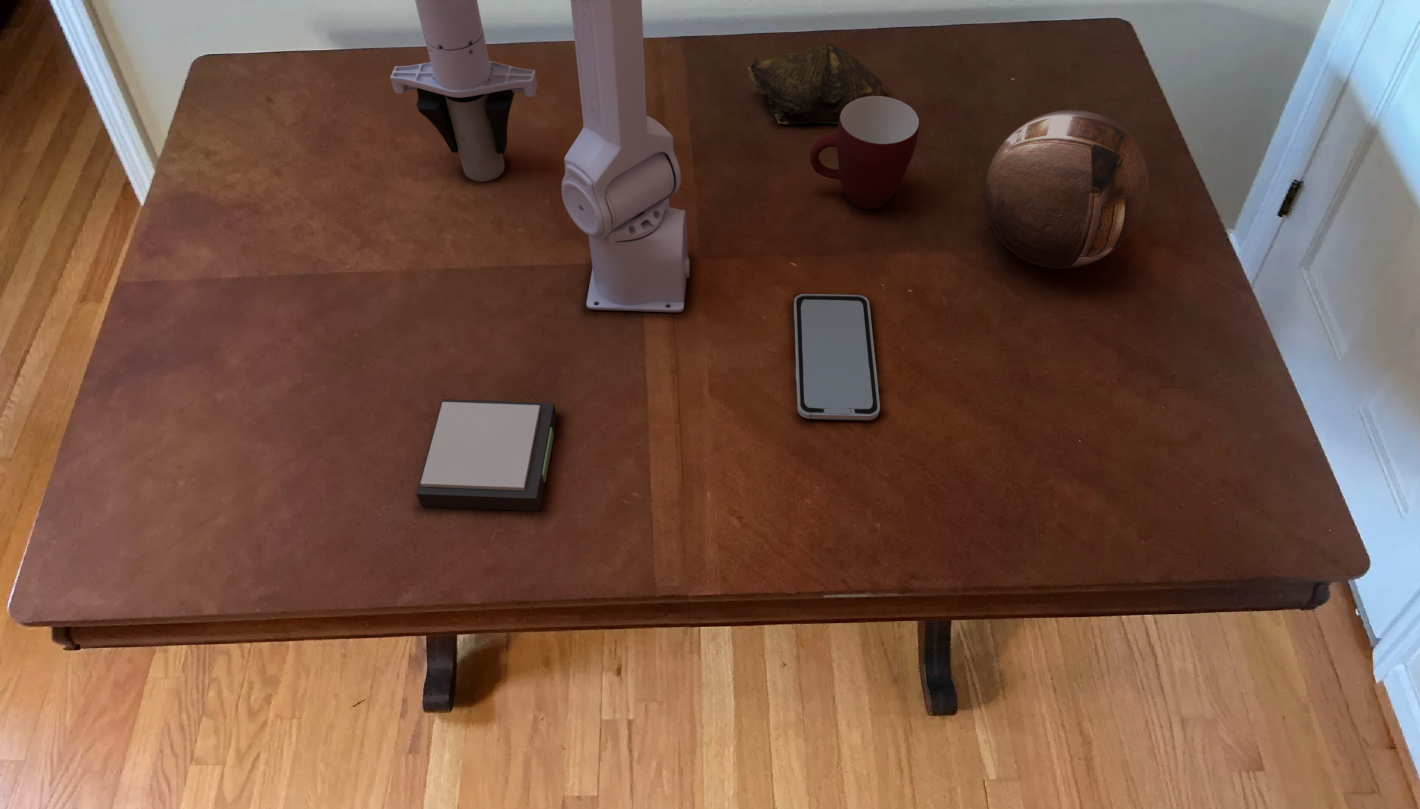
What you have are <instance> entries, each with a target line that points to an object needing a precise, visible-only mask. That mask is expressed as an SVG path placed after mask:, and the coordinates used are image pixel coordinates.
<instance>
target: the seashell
mask: <svg viewBox="0 0 1420 809" xmlns="http://www.w3.org/2000/svg"><path fill="white" fill-rule="evenodd" d="M746 69H747V70H748V75H749V76H750V80H751V82H752V84H753V85H754V86H755V87H756V88H757V90H758V91H759V92H760V94H759V95H760V97H762V96H763V97H764V98H765V100H766V102H767V105H768V108H769V110H770V112H771V114H772V115H773V117H774V118H775V119H776V121H777V123H778V124H779V125H787V126H788V125H792V124H793V125H797V124H798V125H799V124H834V125H838V123H839V116H840V113H841V110H842V109H843V108H844V107H845V106H846V105H847V104H848V103H849V102H851V101H853V100H855V99H858V98H862V97H867V96H885V95H884V94H885V93H884V90H883V83H882V80H881V78H879V77H878V76H877V75H875V74H874V73H872V72H871V70H870V69H869V68H867V67H866V66H865V65H864V64H862V62H860V61H859V60H858V59H857V58H855V57H854V56H853V55H852V54H851V53H850V52H848V51H846V50H844V49H843V48H841V47H839V46H837V45H835V44H833V43H830V42H824V43H820V44H817V45H814V46H813V47H809V48H807V49H803V50H800V51H799V50H798V51H794V52H790V53H783V54H778V55H773V56H768V57H756V58H755V59H753V63H752V64H751V65H750V66H748V67H747V68H746Z"/></svg>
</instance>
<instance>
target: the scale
mask: <svg viewBox="0 0 1420 809" xmlns="http://www.w3.org/2000/svg"><path fill="white" fill-rule="evenodd" d="M557 418H558V414H557V409H556V406H555V403H554V402H539V401H538V402H537V401H535V402H534V401H508V400H507V401H506V400H505V401H504V400H479V399H478V400H477V399H453V398H451V399H450V398H442V399H441V401H440V406H439V410H438V413H437V416H436V420H435V425H434V428H433V432H432V435H431V438H430V443H429V445H428V449H427V454H426V457H425V461H424V465H423V468H422V472H421V475H420V479H419V482H418V486H417V490H416V496H417V499H418V501H419V503H420V506H421V507H424V508H447V509H474V510H497V511H498V510H501V511H522V512H523V511H527V512H540V511H541V507H542V503H543V502H542V501H543V496H544V491H545V486H546V480H547V475H548V469H549V464H550V459H551V458H550V457H551V452H552V447H553V442H554V436H555V429H556V425H557Z"/></svg>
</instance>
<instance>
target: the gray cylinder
mask: <svg viewBox="0 0 1420 809" xmlns="http://www.w3.org/2000/svg"><path fill="white" fill-rule="evenodd" d="M488 97H489V93H487V94H481V95H476V96H470V97H462V98H458V97H450V96H446V95H445V99H446V103H447V107H448V111H449V115H450V119H451V123H452V127H453V131H454V135H455V139H456V143H457V147H458V154H459V158H460V163H461V166H462V170H463V173H464V175H465V177H466V178H468V179H470V180H472V181H475V182H488V181H492V180H495V179H496V178H498V177H500V176H501V175H502V174H503V172H504V170H505V168H506V166H505V160H504V154H498V153H497V150H496V146H495V139H494V133H493V129H492V126H491V123H490V120H489V118H488V116H487V114H486V112H485V105H486V102H487V99H488Z"/></svg>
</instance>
